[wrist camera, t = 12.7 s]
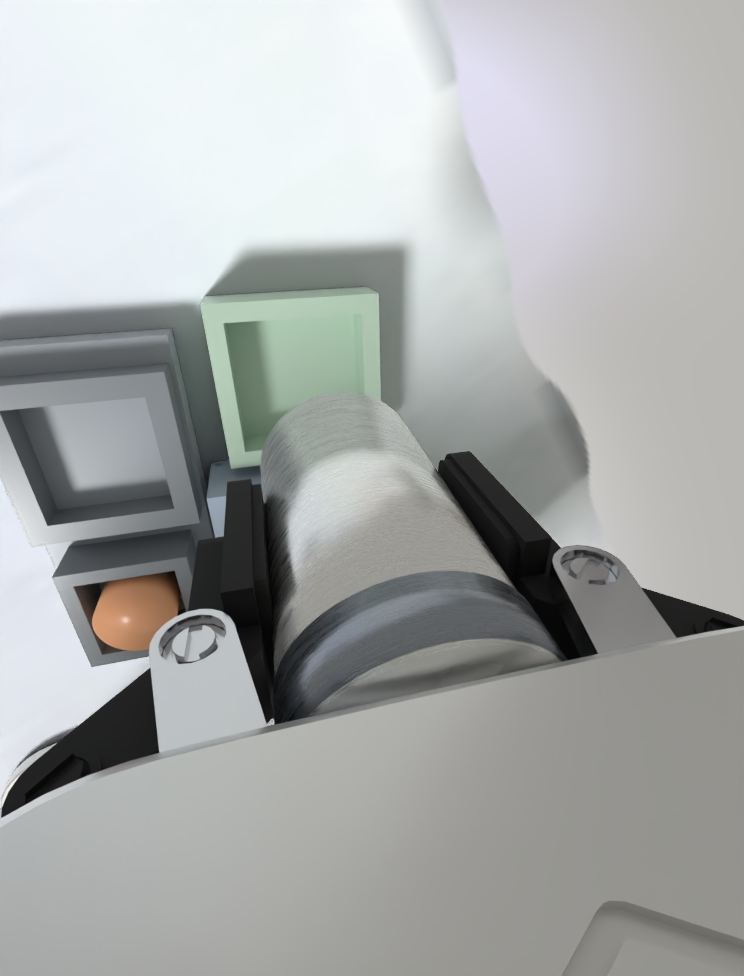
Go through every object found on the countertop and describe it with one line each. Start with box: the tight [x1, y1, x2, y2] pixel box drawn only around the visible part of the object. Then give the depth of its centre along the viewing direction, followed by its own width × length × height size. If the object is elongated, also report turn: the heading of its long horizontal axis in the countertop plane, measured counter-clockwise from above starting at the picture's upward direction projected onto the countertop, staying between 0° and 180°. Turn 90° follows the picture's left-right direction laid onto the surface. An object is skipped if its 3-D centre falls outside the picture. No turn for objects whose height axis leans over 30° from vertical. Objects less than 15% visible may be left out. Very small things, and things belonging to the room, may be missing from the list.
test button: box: [92, 571, 181, 651], centre depth 25 cm, size 4×4×3 cm
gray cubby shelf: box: [0, 328, 215, 667], centre depth 25 cm, size 18×8×4 cm, turn 2°
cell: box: [260, 392, 568, 725], centre depth 10 cm, size 4×4×9 cm
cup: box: [207, 460, 262, 538], centre depth 26 cm, size 6×6×4 cm
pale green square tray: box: [200, 287, 381, 469], centre depth 24 cm, size 8×8×3 cm
